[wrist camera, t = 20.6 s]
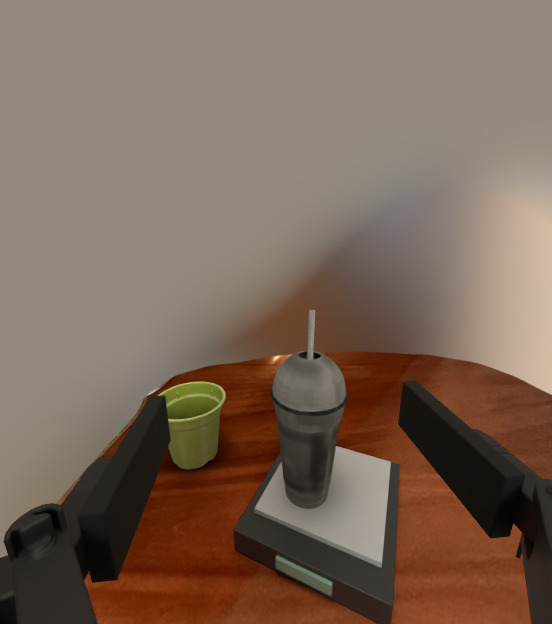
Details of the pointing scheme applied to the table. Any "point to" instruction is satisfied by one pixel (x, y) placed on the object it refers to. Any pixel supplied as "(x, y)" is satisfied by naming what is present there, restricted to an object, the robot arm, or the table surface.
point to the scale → (331, 533)
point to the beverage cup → (308, 421)
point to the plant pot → (194, 422)
